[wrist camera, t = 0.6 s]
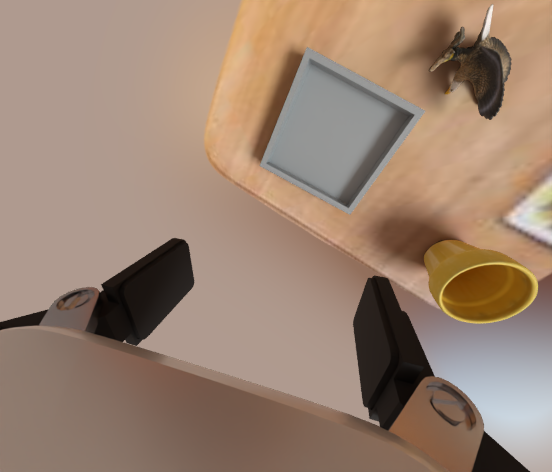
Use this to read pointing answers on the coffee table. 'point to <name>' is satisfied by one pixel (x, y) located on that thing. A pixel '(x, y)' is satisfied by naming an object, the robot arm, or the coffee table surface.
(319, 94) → the bin
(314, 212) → the coffee table surface
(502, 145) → the coffee table surface
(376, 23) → the coffee table surface
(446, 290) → the plant pot
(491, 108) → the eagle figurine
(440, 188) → the coffee table surface
